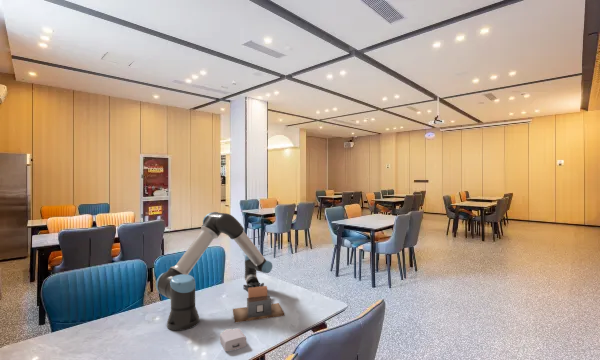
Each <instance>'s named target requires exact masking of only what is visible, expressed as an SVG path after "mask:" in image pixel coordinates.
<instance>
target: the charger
mask: <svg viewBox="0 0 600 360" xmlns="http://www.w3.org/2000/svg"><path fill="white" fill-rule="evenodd" d="M219 341H220V344H221V346H222V347H223V349H224V351H225V352H226V351H229V352H231V351H230V350H232V351H235V349H236V350H239V349H243V348H246V347H247V337H246V336H245V334H244V333H243V331H242V330H241V328H233V329H232V328H227V329H224V331H222V332H221V333H220V334H219Z"/></svg>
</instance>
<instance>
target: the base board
mask: <svg viewBox="0 0 600 360" xmlns="http://www.w3.org/2000/svg"><path fill="white" fill-rule="evenodd" d="M232 314H233V321H234V323H237V324H238V323H244V322H250V321H257V320H264V319H271V318H279V317H284V316H285V312H284V310H283V308H282V306H281V304H280V302H277V303H271V315H267V316H259V317H252V318H248V314H247V306H246V307H237V308H236V307H235V308H232Z"/></svg>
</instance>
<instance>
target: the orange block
mask: <svg viewBox="0 0 600 360" xmlns="http://www.w3.org/2000/svg"><path fill="white" fill-rule="evenodd" d="M261 296H268V287H267V285H264V286H261V287H251V288H248V292H247V298H252V297H261ZM256 311H257V312H260V311H263V305H256Z"/></svg>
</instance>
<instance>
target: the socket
mask: <svg viewBox="0 0 600 360" xmlns="http://www.w3.org/2000/svg"><path fill="white" fill-rule="evenodd" d="M271 304H272V299H271V297H270V295H267V296H261V297H252V298H248V297H246V307H247V314H248V318H252V317H259V316H267V315H271ZM256 305H263V311H260V312H257V311H256Z"/></svg>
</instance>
